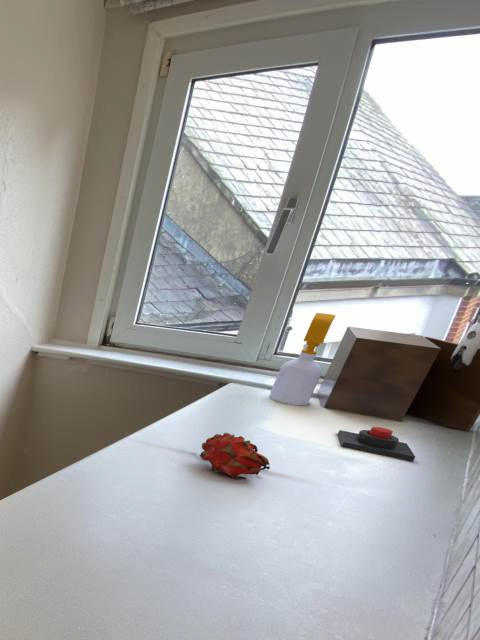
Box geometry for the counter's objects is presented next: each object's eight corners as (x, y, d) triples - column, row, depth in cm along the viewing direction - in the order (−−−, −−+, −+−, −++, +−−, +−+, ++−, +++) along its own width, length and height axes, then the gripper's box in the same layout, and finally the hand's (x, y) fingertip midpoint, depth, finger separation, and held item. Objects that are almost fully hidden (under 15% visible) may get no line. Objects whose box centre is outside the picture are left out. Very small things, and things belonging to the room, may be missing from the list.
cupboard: (386, 405, 158) (422, 335, 149) (399, 425, 142) (441, 348, 133) (317, 393, 166) (347, 326, 157) (322, 410, 150) (356, 337, 141)
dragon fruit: (189, 466, 114) (250, 496, 107) (187, 453, 108) (252, 484, 100) (215, 433, 114) (278, 461, 106) (215, 418, 107) (282, 446, 100)
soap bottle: (308, 404, 155) (348, 315, 144) (304, 410, 149) (346, 318, 138) (270, 396, 161) (306, 310, 150) (265, 402, 155) (302, 313, 144)
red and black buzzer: (401, 452, 124) (411, 435, 123) (410, 466, 117) (420, 449, 115) (335, 438, 130) (342, 422, 129) (339, 450, 123) (347, 434, 121)
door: (408, 406, 158) (446, 337, 149) (488, 434, 138) (536, 357, 129) (387, 405, 158) (424, 336, 149) (464, 433, 138) (511, 356, 129)
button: (387, 436, 123) (391, 429, 122) (390, 441, 120) (394, 433, 119) (367, 432, 124) (370, 425, 124) (369, 436, 122) (373, 429, 121)
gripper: (485, 321, 132) (443, 394, 141) (546, 325, 132) (501, 397, 141) (455, 316, 139) (416, 385, 147) (513, 319, 139) (471, 389, 147)
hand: (458, 391), depth 144 cm, fingers closed
